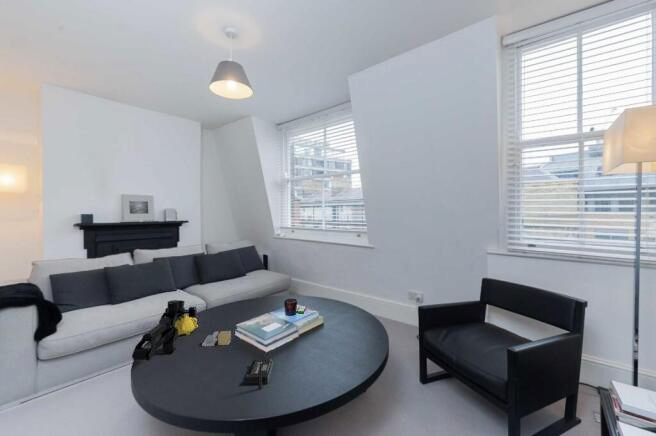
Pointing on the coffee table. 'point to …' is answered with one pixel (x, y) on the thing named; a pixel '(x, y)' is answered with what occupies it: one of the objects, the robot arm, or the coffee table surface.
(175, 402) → the coffee table surface
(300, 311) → the puzzle cube
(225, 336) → the brushed brass cube
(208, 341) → the hammer
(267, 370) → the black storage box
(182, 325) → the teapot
